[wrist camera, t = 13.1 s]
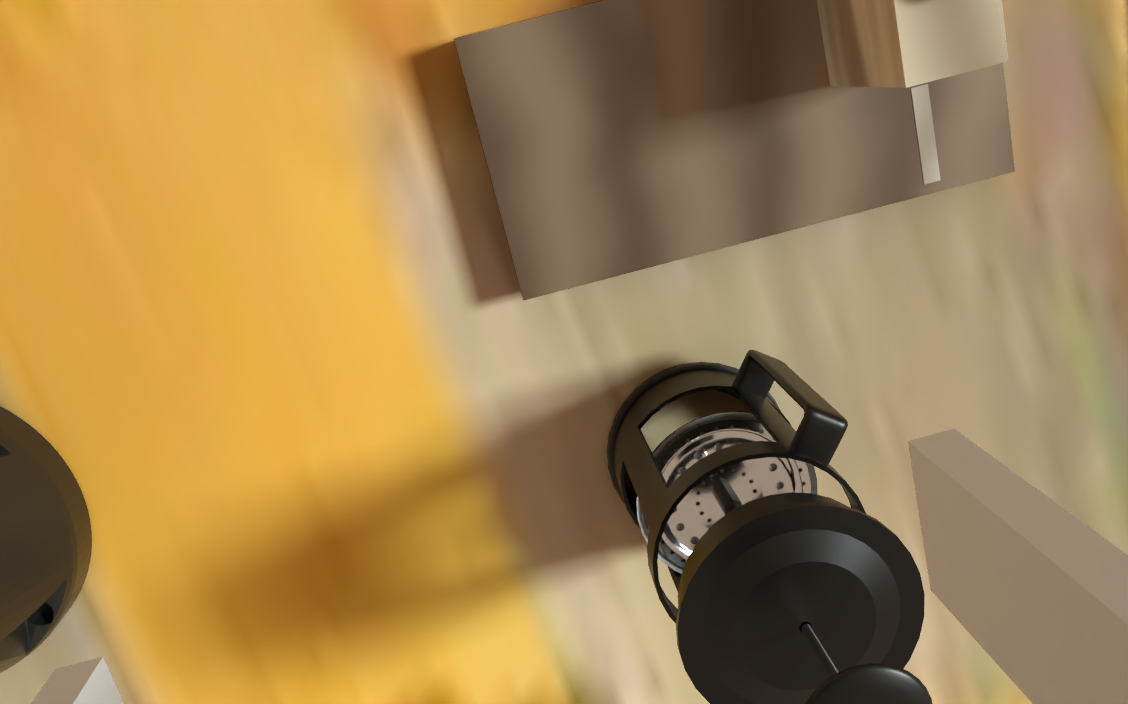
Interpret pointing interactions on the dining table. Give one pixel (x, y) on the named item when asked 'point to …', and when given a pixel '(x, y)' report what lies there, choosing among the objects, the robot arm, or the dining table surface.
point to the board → (701, 133)
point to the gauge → (909, 40)
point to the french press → (767, 546)
